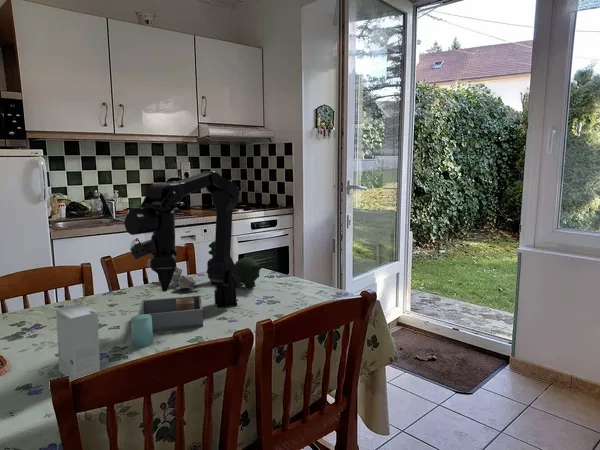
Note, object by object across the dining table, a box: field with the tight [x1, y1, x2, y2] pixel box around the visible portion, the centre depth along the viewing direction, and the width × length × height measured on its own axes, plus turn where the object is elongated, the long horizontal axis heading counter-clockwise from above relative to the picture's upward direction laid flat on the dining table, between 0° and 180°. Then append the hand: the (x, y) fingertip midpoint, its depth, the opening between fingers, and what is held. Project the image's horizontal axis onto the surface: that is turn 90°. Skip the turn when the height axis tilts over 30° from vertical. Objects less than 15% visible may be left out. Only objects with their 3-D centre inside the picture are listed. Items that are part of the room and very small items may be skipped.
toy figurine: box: [208, 240, 263, 290], centre depth 161 cm, size 10×19×26 cm
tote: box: [137, 295, 204, 333], centre depth 126 cm, size 17×13×5 cm
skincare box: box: [55, 302, 101, 381], centre depth 94 cm, size 8×6×15 cm
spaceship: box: [146, 258, 197, 290], centre depth 165 cm, size 8×35×8 cm
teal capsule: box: [130, 314, 154, 349], centre depth 111 cm, size 5×5×7 cm
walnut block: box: [176, 298, 194, 311], centre depth 127 cm, size 5×5×5 cm
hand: (165, 286), depth 118 cm, fingers open, 9 cm apart
